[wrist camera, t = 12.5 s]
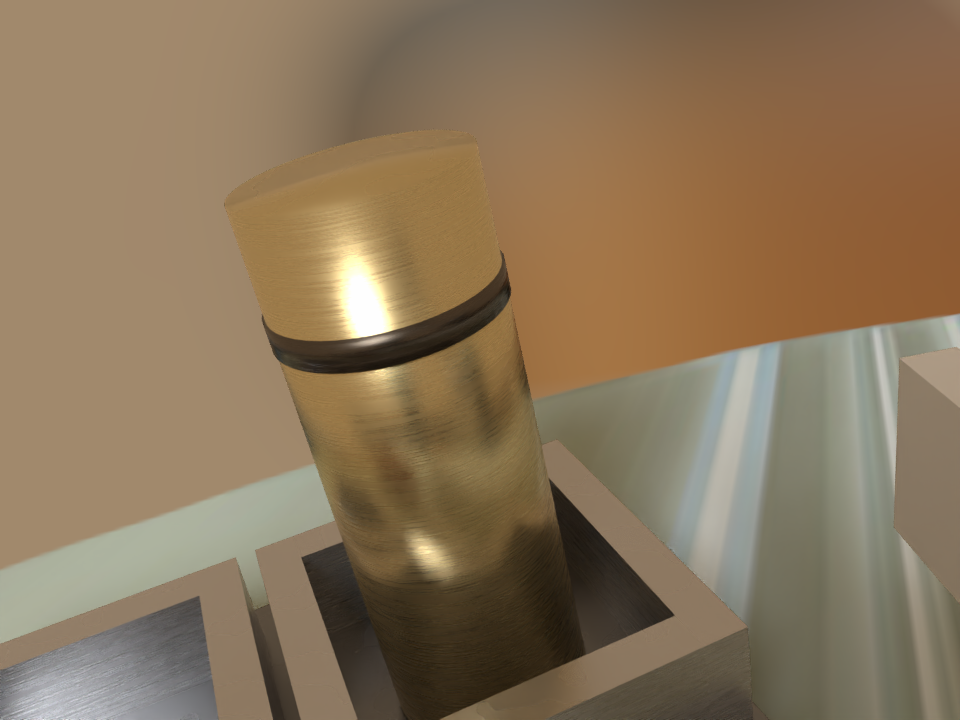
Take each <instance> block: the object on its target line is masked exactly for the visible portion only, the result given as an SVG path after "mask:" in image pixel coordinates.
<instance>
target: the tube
mask: <svg viewBox="0 0 960 720" xmlns="http://www.w3.org/2000/svg"><path fill="white" fill-rule="evenodd" d="M224 206H225V209H226V212H227V214H228V217H229V220H230V223H231V226H232V229H233V232H234V234H235V237H236V240H237V243H238V246H239V249H240V251H241V254H242V257H243V260H244V263H245V266H246V268H247V271H248V274H249V277H250V280H251V282H252V285H253V288H254V291H255V294H256V297H257V300H258V303H259V305H260V308H261V311H262V321H263V325H264V328H265V331H266V334H267V337H268V339H269V342H270V345H271V348H272V351H273V353H274V355H275V357H276V358H277V359H278V360H279V362H280V365H281V368H282V370H283V373H284V376H285V379H286V382H287V385H288V388H289V390H290V393H291V396H292V399H293V402H294V404H295V407H296V410H297V413H298V416H299V419H300V422H301V425H302V427H303V430H304V433H305V436H306V439H307V442H308V444H309V447H310V450H311V453H312V456H313V459H314V461H315V464H316V467H317V470H318V473H319V476H320V478H321V481H322V484H323V487H324V490H325V493H326V495H327V498H328V501H329V504H330V507H331V510H332V512H333V515H334V518H335V521H336V524H337V527H338V530H339V532H340V535H341V538H342V541H343V544H344V547H345V549H346V552H347V555H348V558H349V561H350V564H351V566H352V569H353V572H354V575H355V578H356V581H357V583H358V586H359V589H360V592H361V595H362V598H363V600H364V603H365V606H366V609H367V612H368V615H369V617H370V620H371V623H372V626H373V629H374V632H375V635H376V637H377V640H378V643H379V646H380V649H381V652H382V654H383V657H384V660H385V663H386V666H387V669H388V671H389V674H390V677H391V680H392V683H393V686H394V688H395V691H396V694H397V697H398V700H399V703H400V705H401V708H402V710H403V712H404V713H405V715H406V717H407V718H408V719H409V720H440V719H442V718H444V717H446V716H449V715H451V714H453V713H455V712H458V711H460V710H462V709H464V708H467V707H469V706H471V705H474V704H476V703H478V702H480V701H483V700H485V699H487V698H489V697H492V696H494V695H496V694H498V693H501V692H503V691H505V690H508V689H510V688H512V687H514V686H517V685H519V684H521V683H523V682H526V681H528V680H530V679H532V678H535V677H537V676H539V675H542V674H544V673H546V672H548V671H551V670H553V669H555V668H557V667H560V666H562V665H564V664H566V663H569V662H571V661H573V660H576V659H578V658H580V657H582V656H585V655H586V653H585V646H584V641H583V637H582V632H581V627H580V623H579V618H578V613H577V609H576V604H575V599H574V595H573V590H572V585H571V580H570V576H569V571H568V566H567V562H566V557H565V552H564V548H563V543H562V538H561V534H560V529H559V524H558V520H557V515H556V510H555V506H554V501H553V496H552V492H551V487H550V482H549V478H548V473H547V468H546V463H545V459H544V454H543V449H542V445H541V440H540V435H539V431H538V426H537V421H536V417H535V412H534V407H533V403H532V398H531V393H530V389H529V384H528V379H527V375H526V370H525V365H524V361H523V356H522V351H521V346H520V342H519V337H518V332H517V328H516V323H515V319H514V314H513V309H512V304H511V300H510V295H511V287H510V282H509V278H508V273H507V268H506V264H505V259H504V255H503V253H502V252H501V250H500V248H499V243H498V239H497V234H496V229H495V225H494V220H493V216H492V211H491V206H490V201H489V197H488V192H487V188H486V183H485V178H484V174H483V169H482V164H481V159H480V155H479V150H478V145H477V141H476V138H475V137H474V136H472V135H470V134H468V133H465V132H462V131H455V130H423V131H413V132H404V133H397V134H390V135H385V136H379V137H374V138H369V139H364V140H360V141H356V142H351V143H347V144H343V145H340V146H336V147H332V148H329V149H325V150H322V151H319V152H315V153H313V154H309V155H306V156H303V157H300V158H298V159H295V160H292V161H289V162H287V163H284V164H282V165H280V166H277V167H274V168H272V169H270V170H268V171H266V172H263V173H261V174H259V175H257V176H255V177H253V178H252V179H250V180H248V181H246V182H245V183H243V184H242V185H240V186H239V187H237V188H236V189H235V190H233V191H232V192H231V193H230V194H229V195H228V197H227V198H226V200H225V203H224Z"/></svg>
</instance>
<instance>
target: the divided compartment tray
mask: <svg viewBox="0 0 960 720" xmlns="http://www.w3.org/2000/svg"><path fill="white" fill-rule="evenodd" d="M542 449H543V454H544V459H545V463H546V468H547V473H548V478H549V482H550V487H551V492H552V496H553V501H554V506H555V510H556V515H557V520H558V524H559V529H560V534H561V538H562V543H563V548H564V552H565V557H566V562H567V566H568V571H569V576H570V580H571V585H572V590H573V595H574V599H575V604H576V609H577V613H578V618H579V623H580V627H581V632H582V637H583V641H584V646H585V653H586V655H585V656H582V657H580V658H578V659H576V660H573V661H571V662H569V663H566V664H564V665H562V666H560V667H557V668H555V669H553V670H551V671H548V672H546V673H544V674H542V675H539V676H537V677H535V678H532V679H530V680H528V681H526V682H523V683H521V684H519V685H517V686H514V687H512V688H510V689H508V690H505V691H503V692H501V693H498V694H496V695H494V696H492V697H489V698H487V699H485V700H483V701H480V702H478V703H476V704H474V705H471V706H469V707H467V708H464V709H462V710H460V711H458V712H455V713H453V714H451V715H449V716H446V717H444V718H442V719H440V720H769V719H768V718H767V717H766V716H765V715H764V714H763V713H762V711H761V710H760V709H759V708H758V707H757V706H756V705H755V704H754V703H753V702H752V689H751V672H750V655H749V638H748V626H747V625H746V624H745V623H744V622H743V621H742V620H741V619H740V618H738V617H737V616H736V615H735V614H734V613H733V612H732V611H731V610H730V609H729V608H728V607H727V606H726V605H725V604H724V603H723V602H722V601H721V600H720V599H719V598H718V597H717V596H716V595H715V594H714V593H713V592H712V591H711V590H710V589H709V588H708V587H707V586H706V585H705V584H704V583H703V582H702V581H701V580H700V579H699V578H698V577H697V576H696V575H695V574H694V573H693V572H692V571H691V570H690V569H689V568H688V567H687V566H686V565H685V564H684V563H683V562H682V561H681V560H680V559H679V558H677V557H676V556H675V555H674V554H673V553H672V552H671V551H670V550H669V549H668V548H667V547H666V546H665V545H664V544H663V543H662V542H661V541H660V540H659V539H658V538H657V537H656V536H655V535H654V534H653V533H652V532H651V531H650V530H649V529H648V528H647V527H646V526H645V525H644V524H643V523H642V522H641V521H640V520H639V519H638V518H637V517H636V516H635V515H634V514H633V513H632V512H631V511H630V510H629V509H628V508H627V507H626V506H625V505H624V504H623V503H622V502H621V501H620V500H619V499H618V498H616V497H615V496H614V495H613V494H612V493H611V492H610V491H609V490H608V489H607V488H606V487H605V486H604V485H603V484H602V483H601V482H600V481H599V480H598V479H597V478H596V477H595V476H594V475H593V474H592V473H591V472H590V471H589V470H588V469H587V468H586V467H585V466H584V465H583V464H582V463H581V462H580V461H579V460H578V459H577V458H576V457H575V456H574V455H573V454H572V453H571V452H570V451H569V450H568V449H567V448H566V447H565V446H564V445H563V444H562V443H561V442H560V441H559V440H558V439H556V440H554V441H551V442H548V443H546V444H543V445H542ZM255 551H256V555H257V559H258V563H259V566H260V570H261V574H262V577H263V581H264V585H265V589H266V592H267V596H268V600H269V603H270V604H269V605H267V606H264V607H261V608H259V609H256V610H255V609H254V606H253V603H252V601H251V598H250V595H249V592H248V590H247V587H246V584H245V582H244V579H243V576H242V574H241V571H240V568H239V565H238V563H237V560H236V557H235V558H233V559H230V560H227V561H225V562H222V563H219V564H216V565H214V566H211V567H208V568H206V569H203V570H200V571H197V572H195V573H192V574H189V575H186V576H184V577H181V578H178V579H176V580H173V581H170V582H167V583H165V584H162V585H159V586H157V587H154V588H151V589H148V590H146V591H143V592H140V593H138V594H135V595H132V596H129V597H127V598H124V599H121V600H118V601H116V602H113V603H110V604H108V605H105V606H102V607H99V608H97V609H94V610H91V611H89V612H86V613H83V614H80V615H78V616H75V617H72V618H69V619H67V620H64V621H61V622H59V623H56V624H53V625H50V626H48V627H45V628H42V629H40V630H37V631H34V632H31V633H29V634H26V635H23V636H21V637H18V638H15V639H12V640H10V641H7V642H4V643H1V644H0V720H409V719H408V718H407V717H406V715H405V713H404V712H403V710H402V708H401V705H400V703H399V700H398V697H397V694H396V691H395V688H394V686H393V683H392V680H391V677H390V674H389V671H388V669H387V666H386V663H385V660H384V657H383V654H382V652H381V649H380V646H379V643H378V640H377V637H376V635H375V632H374V629H373V626H372V623H371V620H370V617H369V615H368V612H367V609H366V606H365V603H364V600H363V598H362V595H361V592H360V589H359V586H358V583H357V581H356V578H355V575H354V572H353V569H352V566H351V564H350V561H349V558H348V555H347V552H346V549H345V547H344V544H343V541H342V538H341V535H340V532H339V530H338V527H337V524H336V521H333V522H331V523H328V524H325V525H323V526H320V527H317V528H314V529H312V530H309V531H306V532H303V533H301V534H298V535H295V536H293V537H290V538H287V539H284V540H282V541H279V542H276V543H274V544H271V545H268V546H265V547H263V548H260V549H257V550H255Z"/></svg>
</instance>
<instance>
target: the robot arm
mask: <svg viewBox="0 0 960 720" xmlns="http://www.w3.org/2000/svg"><path fill="white" fill-rule="evenodd" d="M894 528H895V529H896V530H897V532H898V533H899V534H900V535H901V536H902V537H903V539H904V540H905V541H906V542H907V543H908V544H909V546H910V547H911V548H912V549H913V550H914V551H915V553H916V554H917V555H918V556H919V557H920V558H921V560H922V561H923V562H924V563H925V564H926V565H927V567H928V568H929V569H930V570H931V571H932V572H933V574H934V575H935V576H936V577H937V578H938V579H939V581H940V582H941V583H942V584H943V585H944V586H945V588H946V589H947V590H948V591H949V592H950V593H951V595H952V596H953V597H954V598H955V599H956V600H957V602H958V603H959V604H960V349H959V348H957V347H954V348H949V349H944V350H939V351H934V352H929V353H924V354H919V355H914V356H909V357H904V358H899V387H898V416H897V445H896V475H895V504H894Z"/></svg>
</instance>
